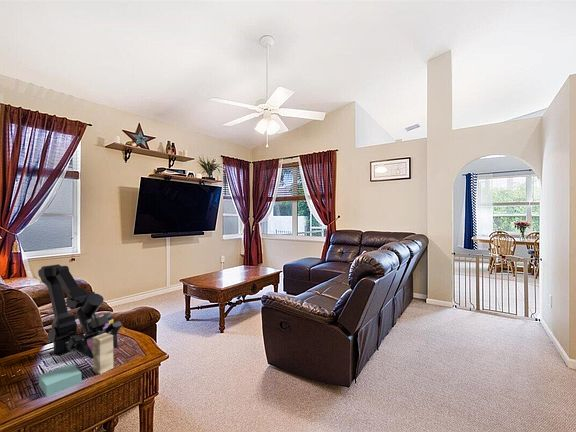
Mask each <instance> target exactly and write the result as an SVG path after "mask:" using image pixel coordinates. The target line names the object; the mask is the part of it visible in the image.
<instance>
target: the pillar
mask: <svg viewBox="0 0 576 432" xmlns="http://www.w3.org/2000/svg"><path fill="white" fill-rule="evenodd" d="M112 369H114V346H113V335H111V334H108V333H104V334H101V335H98V336H95V337H93V359H92V371H93V372H95V373H97V374H99V375H101V374H103V373H106V372H108V371H110V370H112Z"/></svg>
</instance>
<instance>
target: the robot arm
mask: <svg viewBox="0 0 576 432" xmlns="http://www.w3.org/2000/svg"><path fill="white" fill-rule="evenodd" d="M37 272H38V273H37V274H38V277H39V278H40V280H41V283H42V284H44V285H45V286H46V287H47V290H48V293H49V298H50V302H51V303H50V304H51V307H52V311H53V317H54V319H53V321H52V323H51V329H50V331H49V332H48V334H47V338H48V341H51V342H52V343H53V350H52V351H50V352H49V354H50V355H55V356H56V355H57V356H63V355H65V354H67V353H69V352H71V351H73V352H75V351H76V352H79V353H81V354H83V355H84V356H86V357H88V359H91V360H93V354H92V352H91V350H90V348H89V346H88V344H87V340H89V339H91V338H93V337H95V336H98V335H101V334H104V333H108V334H111V335H113V348H114V349H118V332H119V331H120V329H121V328H122V327H123V324H122V322H121V321H120V320H116V321H113V323H110V325H109V326H108V327H107V328H105V329H103V327H105V324H106V323H109V321H110V320H112V319H113V315H112V313H111V312H105V313H104V314H103V316H99V315H98V316H97V313H96V312H97V311H98V310H99V309H100V307H101V305H102V304H103V302H104V297H103V295H101V294H98V293H96V292H95V291H90V292H88V291H87V290H86V289H84V288H82V287H81V286H79V285H78V283H77V281H76V280H75V278H74V276H73V275H72V273H71V272H70V268H69V266H68V265H60V264H51V265H43V266H41V268H40V269H39V270H38V271H37ZM64 292H65V294H66V299H65V294H64ZM68 308H69V309H70V310H76V311H75V315H74V314H72V315H71V314H70V313H69V311H68ZM76 319H78V322H79V323H80V325H81V327H80V330H81V331H82V330H83V331H84V333H82V332H81V333H78V334H77V330H78V323H77V321H76ZM85 334H86V335H85Z"/></svg>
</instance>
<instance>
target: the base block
mask: <svg viewBox="0 0 576 432" xmlns="http://www.w3.org/2000/svg"><path fill="white" fill-rule="evenodd" d="M79 383H80V384H82V372H81V370H79V369H78V367H76V366H75V365H74V364H73V363H71V364H67V365H65V366H62V367H59V368H55V369H53V370H50V371H47V372H44V373H42V374H38V387H40V389H41V390H42V391H41V392H43V393H44V395H45V396H46V397H50V396H51V395H54V394H57V393H59V392H61V391H64V390H67V389H69V388H72V387H75V386H77V385H80V384H79ZM74 385H75V386H74Z"/></svg>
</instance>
